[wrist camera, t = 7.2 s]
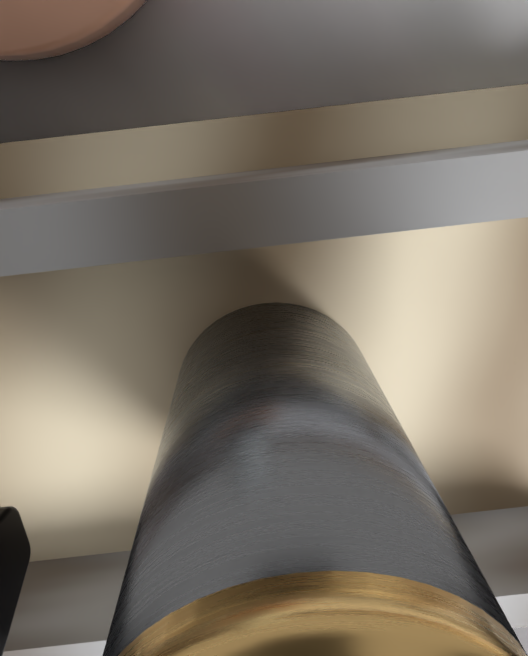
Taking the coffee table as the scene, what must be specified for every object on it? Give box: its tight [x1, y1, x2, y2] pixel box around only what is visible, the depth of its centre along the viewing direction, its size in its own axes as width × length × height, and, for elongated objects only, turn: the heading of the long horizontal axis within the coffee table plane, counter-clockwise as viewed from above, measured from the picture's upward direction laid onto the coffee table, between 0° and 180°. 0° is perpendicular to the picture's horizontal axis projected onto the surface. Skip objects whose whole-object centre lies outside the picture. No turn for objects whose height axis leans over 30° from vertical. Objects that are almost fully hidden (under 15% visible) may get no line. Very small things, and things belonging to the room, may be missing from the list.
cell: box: [103, 302, 527, 656], centre depth 8 cm, size 4×4×8 cm
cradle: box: [0, 84, 528, 656], centre depth 11 cm, size 14×12×4 cm
